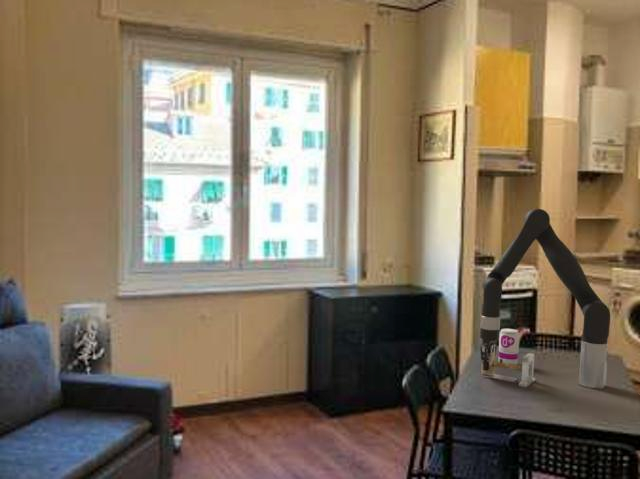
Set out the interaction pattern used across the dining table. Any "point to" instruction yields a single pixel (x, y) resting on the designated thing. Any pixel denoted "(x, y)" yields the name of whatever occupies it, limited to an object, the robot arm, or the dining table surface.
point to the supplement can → (508, 346)
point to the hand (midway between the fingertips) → (487, 368)
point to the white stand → (526, 372)
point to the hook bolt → (498, 365)
